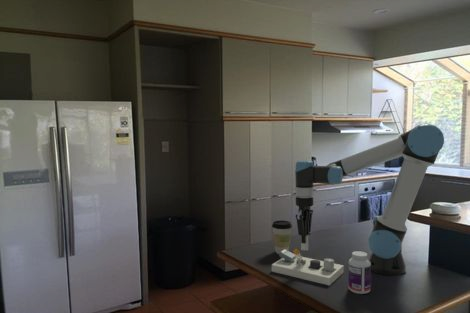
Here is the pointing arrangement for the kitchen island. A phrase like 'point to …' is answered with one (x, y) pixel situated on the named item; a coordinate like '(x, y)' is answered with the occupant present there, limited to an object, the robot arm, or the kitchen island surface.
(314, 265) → the button black
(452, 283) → the kitchen island surface
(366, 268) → the pill bottle
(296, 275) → the panel
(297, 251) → the lever
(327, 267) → the button grey
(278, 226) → the coffee cup
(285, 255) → the slate blue block
